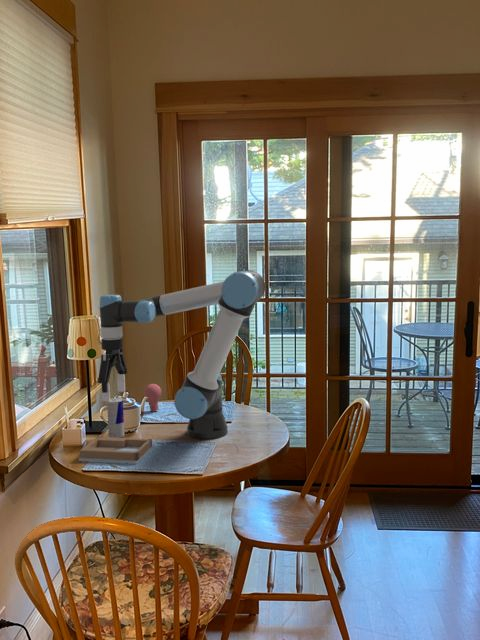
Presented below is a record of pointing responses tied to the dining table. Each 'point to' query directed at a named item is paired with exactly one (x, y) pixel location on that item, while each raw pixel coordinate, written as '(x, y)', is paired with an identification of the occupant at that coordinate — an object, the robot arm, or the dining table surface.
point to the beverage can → (115, 418)
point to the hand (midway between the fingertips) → (114, 396)
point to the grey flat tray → (116, 450)
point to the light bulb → (153, 396)
